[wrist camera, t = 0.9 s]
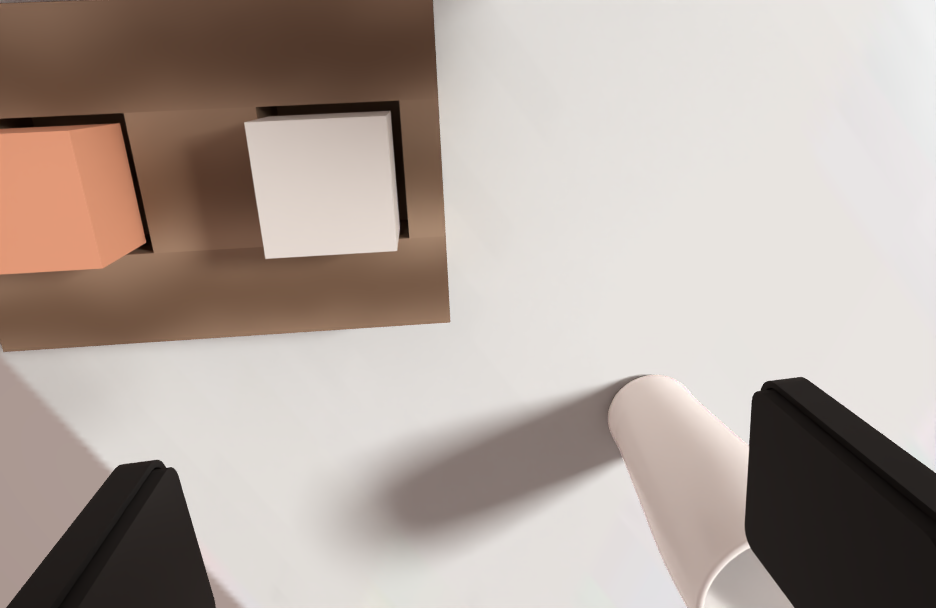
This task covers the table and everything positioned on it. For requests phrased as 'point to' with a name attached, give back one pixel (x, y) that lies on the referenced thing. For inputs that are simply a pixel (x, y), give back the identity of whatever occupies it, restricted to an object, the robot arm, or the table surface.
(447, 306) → the walnut block
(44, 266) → the terracotta plug
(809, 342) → the table surface
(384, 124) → the white plug
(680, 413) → the drinking glass
